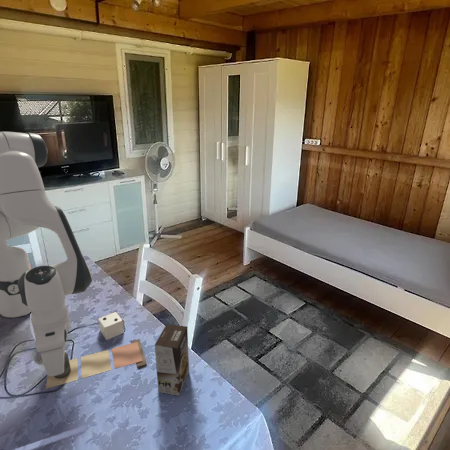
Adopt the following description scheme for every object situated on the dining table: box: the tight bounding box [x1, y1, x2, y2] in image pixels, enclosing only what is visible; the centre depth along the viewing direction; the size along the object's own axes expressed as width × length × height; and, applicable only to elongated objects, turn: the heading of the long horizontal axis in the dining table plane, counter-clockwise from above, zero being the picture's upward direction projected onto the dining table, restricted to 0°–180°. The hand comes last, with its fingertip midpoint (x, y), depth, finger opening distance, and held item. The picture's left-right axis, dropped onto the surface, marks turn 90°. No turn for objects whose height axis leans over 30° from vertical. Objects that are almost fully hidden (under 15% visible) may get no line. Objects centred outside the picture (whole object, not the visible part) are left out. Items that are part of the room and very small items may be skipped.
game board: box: [45, 338, 148, 390], centre depth 98 cm, size 12×28×1 cm, turn 114°
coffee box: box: [154, 323, 190, 397], centre depth 90 cm, size 9×6×16 cm
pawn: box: [55, 351, 71, 378], centre depth 93 cm, size 4×4×8 cm
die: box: [98, 311, 125, 341], centre depth 110 cm, size 6×6×6 cm
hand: (60, 364), depth 93 cm, fingers closed on pawn, 4 cm apart
